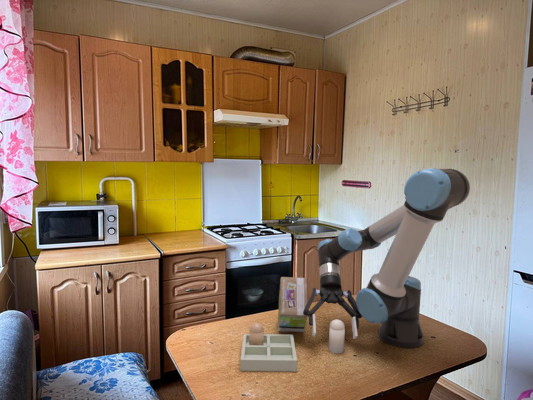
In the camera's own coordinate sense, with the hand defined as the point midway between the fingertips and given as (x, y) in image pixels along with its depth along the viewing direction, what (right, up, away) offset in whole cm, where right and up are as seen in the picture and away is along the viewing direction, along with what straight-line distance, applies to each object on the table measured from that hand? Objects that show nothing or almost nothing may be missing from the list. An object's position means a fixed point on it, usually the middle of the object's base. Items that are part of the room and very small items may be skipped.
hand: (334, 336), depth 122 cm
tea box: (-13, +1, +22) cm, 25 cm away
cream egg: (+1, -6, +3) cm, 7 cm away
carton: (-22, -6, -2) cm, 23 cm away
